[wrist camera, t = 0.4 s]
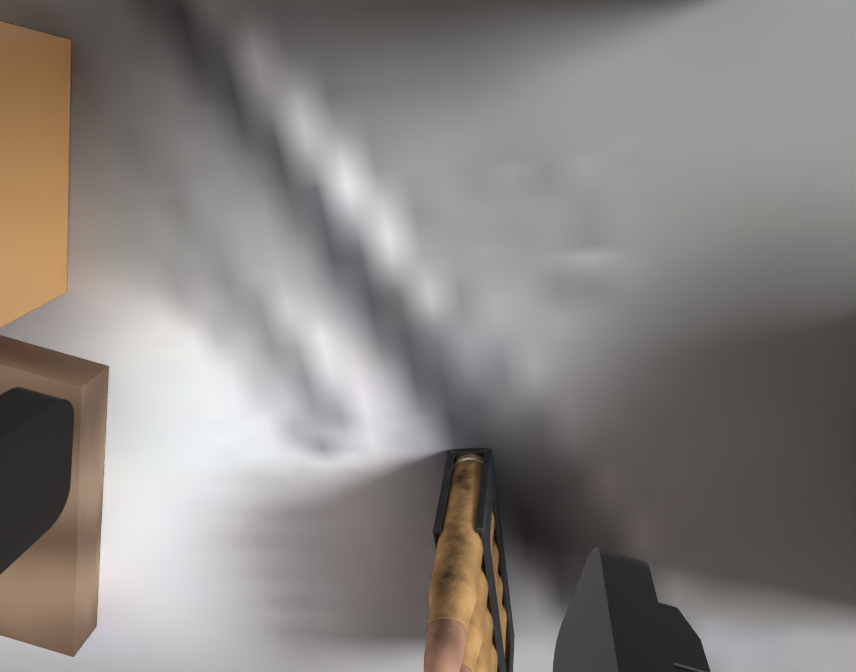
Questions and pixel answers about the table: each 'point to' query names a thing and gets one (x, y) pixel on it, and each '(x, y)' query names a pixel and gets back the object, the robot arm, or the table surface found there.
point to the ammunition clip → (469, 573)
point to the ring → (33, 168)
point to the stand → (80, 519)
